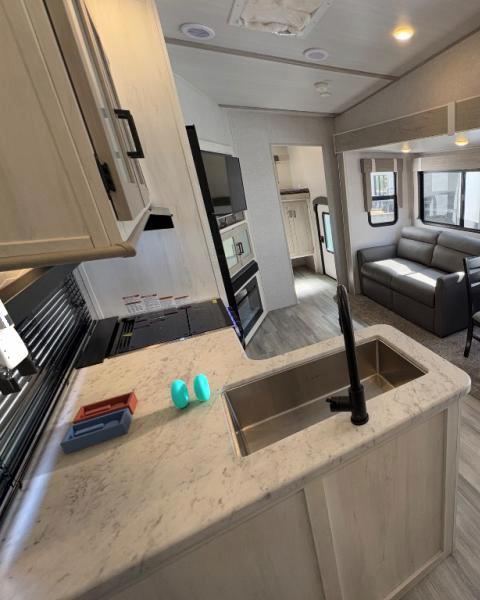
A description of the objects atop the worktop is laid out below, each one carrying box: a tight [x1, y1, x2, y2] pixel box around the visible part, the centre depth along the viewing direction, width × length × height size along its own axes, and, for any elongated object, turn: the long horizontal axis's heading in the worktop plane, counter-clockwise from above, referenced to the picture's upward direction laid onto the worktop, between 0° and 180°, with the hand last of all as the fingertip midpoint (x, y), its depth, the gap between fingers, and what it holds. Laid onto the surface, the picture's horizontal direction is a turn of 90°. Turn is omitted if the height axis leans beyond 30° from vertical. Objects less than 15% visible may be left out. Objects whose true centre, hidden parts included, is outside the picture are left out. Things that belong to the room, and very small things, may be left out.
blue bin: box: [59, 408, 133, 455], centre depth 99 cm, size 15×9×4 cm, turn 122°
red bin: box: [72, 390, 139, 425], centre depth 107 cm, size 15×9×4 cm, turn 122°
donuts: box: [170, 373, 211, 409], centre depth 111 cm, size 10×10×10 cm
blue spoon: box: [75, 420, 119, 437], centre depth 99 cm, size 10×4×3 cm, turn 122°
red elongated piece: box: [85, 403, 125, 417], centre depth 107 cm, size 10×4×3 cm, turn 122°
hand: (22, 383), depth 82 cm, fingers open, 9 cm apart
